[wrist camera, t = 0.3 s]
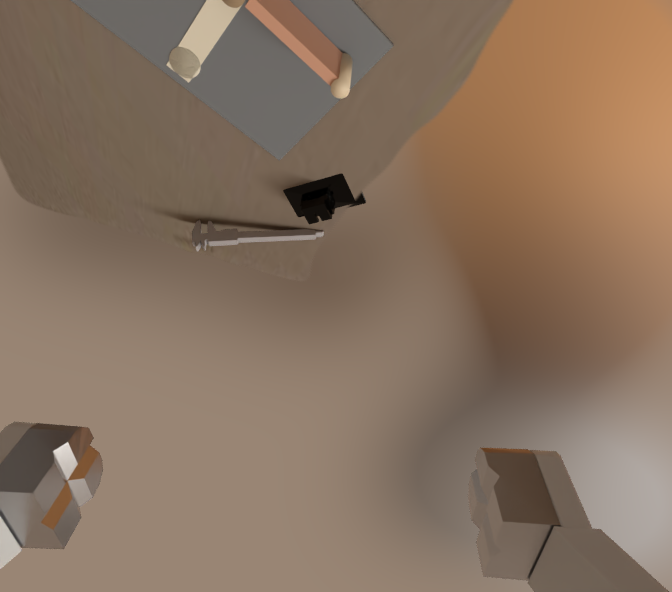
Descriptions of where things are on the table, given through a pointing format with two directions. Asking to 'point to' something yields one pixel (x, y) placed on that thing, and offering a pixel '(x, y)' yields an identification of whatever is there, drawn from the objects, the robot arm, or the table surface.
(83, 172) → the table surface
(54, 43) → the table surface
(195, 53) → the board
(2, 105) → the table surface
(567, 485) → the robot arm
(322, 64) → the fence panel
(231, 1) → the fixed fence
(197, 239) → the caliper
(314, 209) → the black angular piece
